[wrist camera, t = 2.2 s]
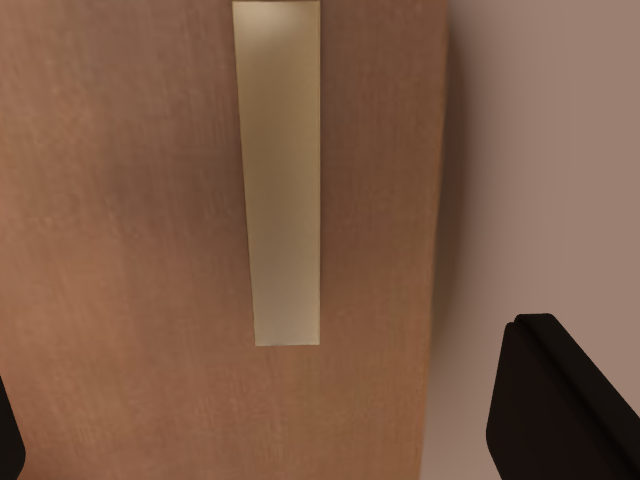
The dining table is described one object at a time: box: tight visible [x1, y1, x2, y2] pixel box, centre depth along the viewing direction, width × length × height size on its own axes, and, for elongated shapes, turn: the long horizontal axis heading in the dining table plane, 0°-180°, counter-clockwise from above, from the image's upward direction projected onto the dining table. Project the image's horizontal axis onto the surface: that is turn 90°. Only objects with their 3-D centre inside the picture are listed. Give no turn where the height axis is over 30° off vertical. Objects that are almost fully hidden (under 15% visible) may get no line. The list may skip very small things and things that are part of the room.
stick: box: [231, 0, 320, 346], centre depth 18 cm, size 2×12×2 cm, turn 0°
